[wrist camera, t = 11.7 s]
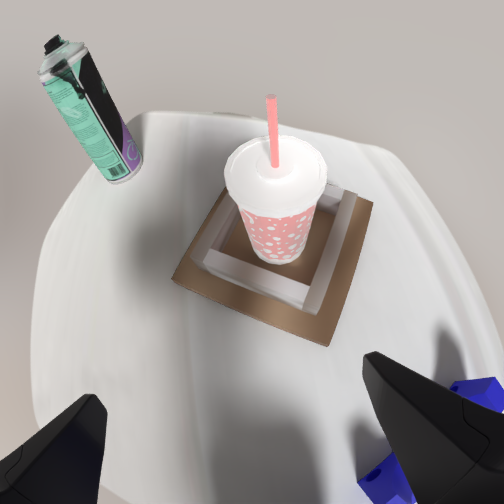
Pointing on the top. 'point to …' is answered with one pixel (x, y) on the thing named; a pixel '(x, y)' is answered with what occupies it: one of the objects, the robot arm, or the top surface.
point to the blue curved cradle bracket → (389, 471)
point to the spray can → (89, 109)
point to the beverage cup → (276, 190)
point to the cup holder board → (280, 266)
